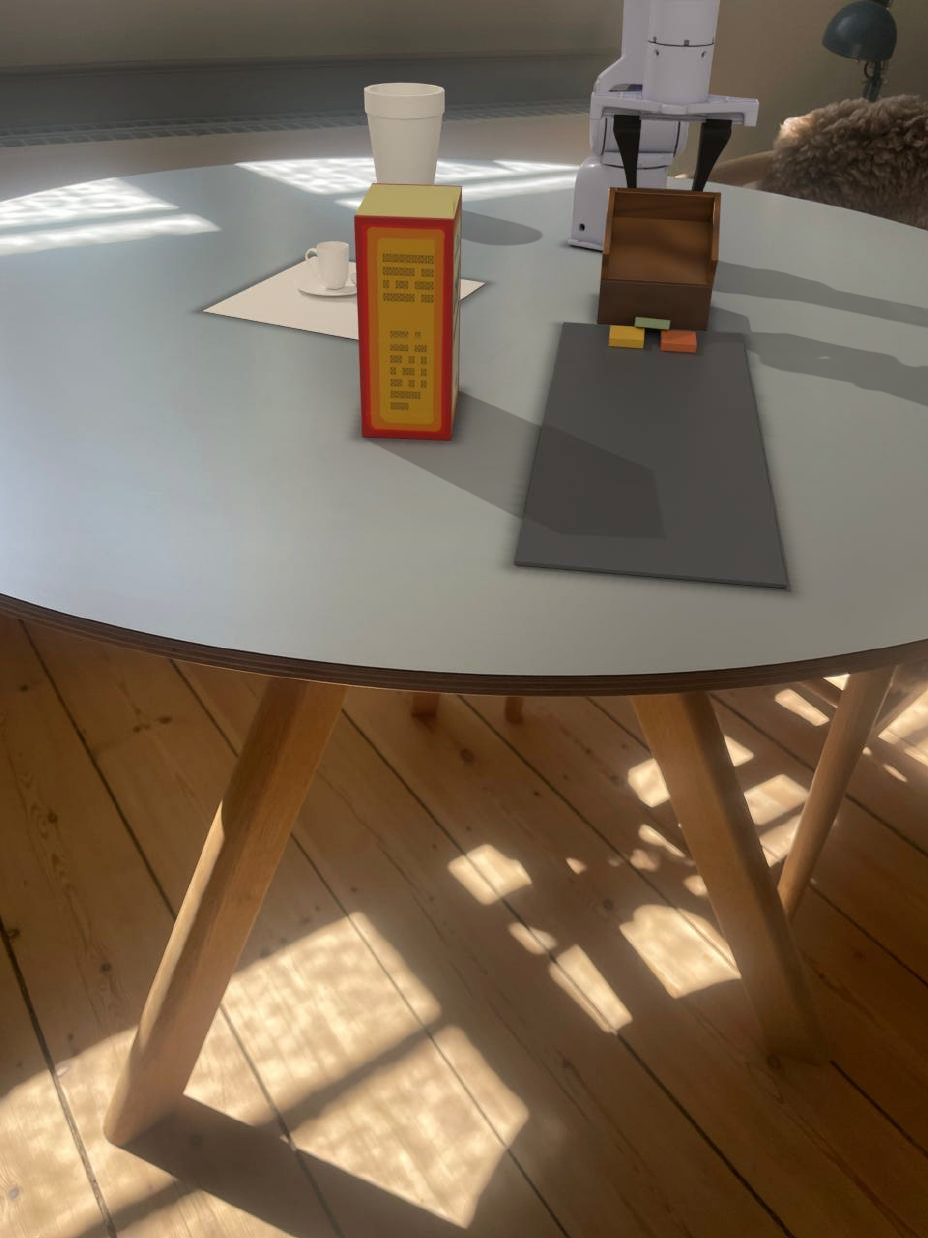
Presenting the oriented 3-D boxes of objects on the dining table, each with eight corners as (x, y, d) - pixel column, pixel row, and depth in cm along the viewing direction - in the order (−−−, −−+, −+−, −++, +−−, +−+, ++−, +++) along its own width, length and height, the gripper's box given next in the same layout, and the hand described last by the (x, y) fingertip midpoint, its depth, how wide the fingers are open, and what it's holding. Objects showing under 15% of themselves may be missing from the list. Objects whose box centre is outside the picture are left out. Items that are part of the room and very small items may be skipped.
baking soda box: (377, 386, 90) (372, 177, 81) (459, 389, 89) (462, 180, 81) (362, 436, 82) (353, 210, 73) (450, 440, 82) (453, 214, 73)
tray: (713, 286, 100) (718, 259, 97) (600, 280, 101) (602, 253, 98) (717, 201, 104) (722, 173, 101) (609, 196, 105) (611, 168, 102)
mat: (563, 325, 103) (563, 321, 102) (740, 336, 101) (741, 333, 101) (514, 564, 67) (514, 560, 67) (785, 588, 65) (786, 584, 65)
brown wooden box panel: (706, 330, 102) (713, 286, 100) (596, 323, 103) (600, 280, 101) (703, 302, 109) (709, 260, 106) (600, 296, 110) (604, 254, 107)
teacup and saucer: (397, 283, 112) (396, 241, 110) (357, 306, 106) (356, 262, 104) (321, 270, 115) (319, 230, 113) (279, 292, 109) (275, 250, 107)
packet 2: (695, 331, 98) (694, 340, 99) (661, 329, 99) (660, 338, 99) (696, 344, 96) (695, 352, 96) (661, 341, 96) (660, 350, 97)
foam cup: (366, 195, 141) (362, 82, 134) (438, 194, 142) (439, 82, 135) (370, 215, 134) (367, 96, 126) (447, 213, 135) (448, 95, 127)
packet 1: (644, 327, 99) (643, 335, 100) (610, 324, 100) (609, 333, 100) (644, 339, 97) (643, 348, 97) (609, 337, 97) (608, 346, 97)
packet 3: (668, 329, 98) (670, 320, 98) (634, 326, 99) (635, 316, 98) (669, 329, 101) (670, 320, 101) (636, 325, 102) (637, 316, 101)
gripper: (593, 45, 93) (581, 212, 101) (771, 52, 91) (744, 221, 99) (597, 32, 99) (585, 192, 107) (764, 38, 97) (740, 200, 105)
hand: (662, 205), depth 103 cm, fingers closed on tray, 5 cm apart
